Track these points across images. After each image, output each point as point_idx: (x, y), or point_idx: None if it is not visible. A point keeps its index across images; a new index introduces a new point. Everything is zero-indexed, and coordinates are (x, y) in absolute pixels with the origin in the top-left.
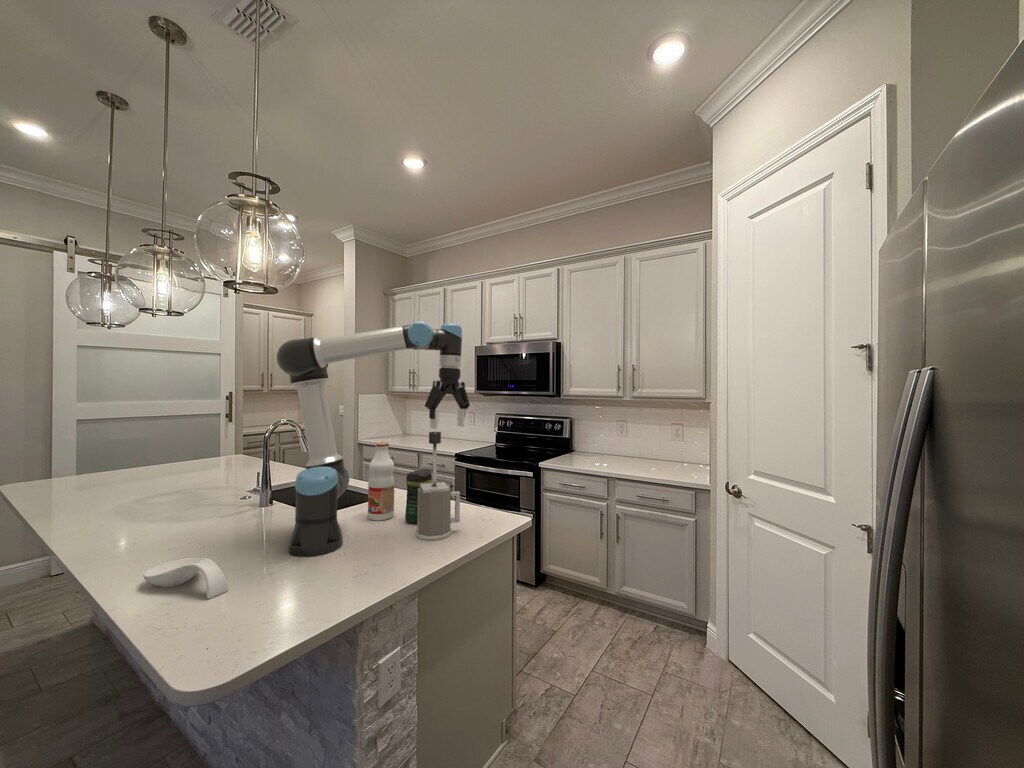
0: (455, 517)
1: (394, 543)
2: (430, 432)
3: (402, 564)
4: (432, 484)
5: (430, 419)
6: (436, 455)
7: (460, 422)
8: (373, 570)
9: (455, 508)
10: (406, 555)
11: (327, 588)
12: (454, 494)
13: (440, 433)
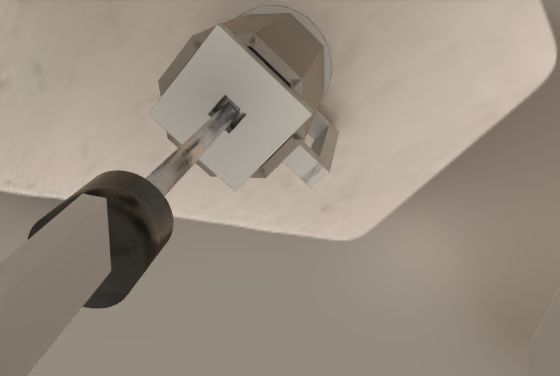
0: (321, 134)
1: (148, 8)
2: None
3: (79, 127)
4: (218, 110)
5: (14, 254)
6: (175, 183)
7: (553, 370)
8: (18, 89)
9: (318, 143)
10: (116, 101)
11: None
12: (295, 170)
13: (106, 302)
